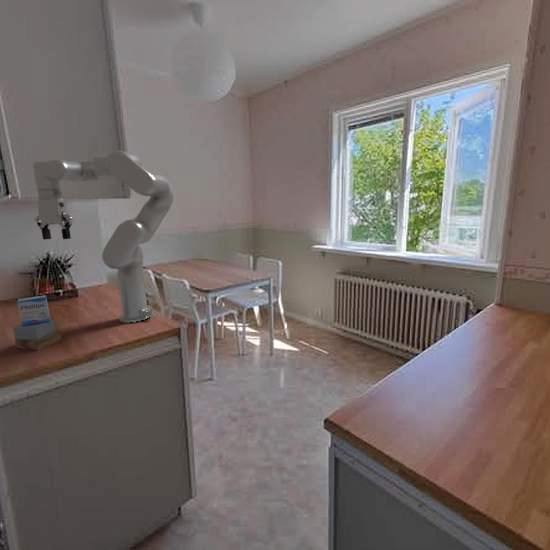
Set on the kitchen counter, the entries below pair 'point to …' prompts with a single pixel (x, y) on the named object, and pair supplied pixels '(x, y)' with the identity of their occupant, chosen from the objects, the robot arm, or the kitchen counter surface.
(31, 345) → the walnut slab
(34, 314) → the medicine box
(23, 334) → the grey slab
